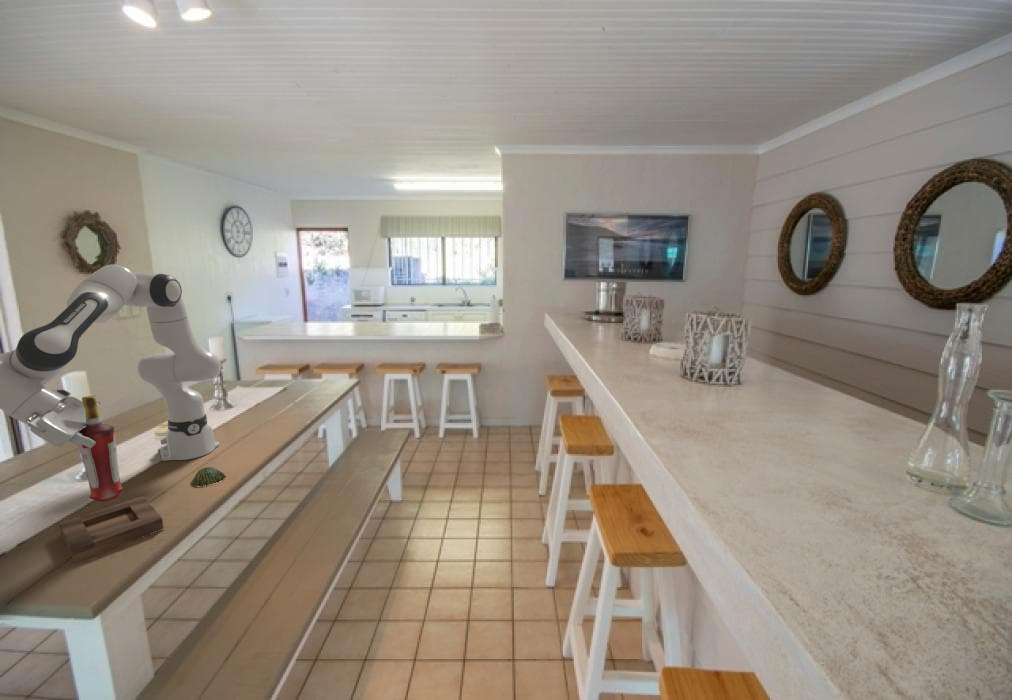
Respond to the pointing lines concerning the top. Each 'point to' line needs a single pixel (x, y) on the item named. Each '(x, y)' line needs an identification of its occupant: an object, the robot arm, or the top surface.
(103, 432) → the liquor
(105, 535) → the plinth
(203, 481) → the seashell
